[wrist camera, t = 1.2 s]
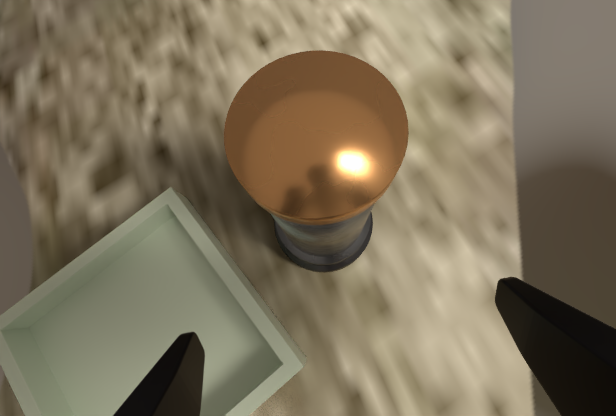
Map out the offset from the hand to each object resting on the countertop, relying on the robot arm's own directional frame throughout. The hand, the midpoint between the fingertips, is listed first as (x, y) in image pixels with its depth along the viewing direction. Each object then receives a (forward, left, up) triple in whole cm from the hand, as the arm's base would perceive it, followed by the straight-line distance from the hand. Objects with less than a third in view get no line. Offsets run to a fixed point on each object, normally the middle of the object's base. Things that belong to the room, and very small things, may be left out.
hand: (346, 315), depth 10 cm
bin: (+6, +10, -12) cm, 17 cm away
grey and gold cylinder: (+5, -3, -11) cm, 12 cm away
